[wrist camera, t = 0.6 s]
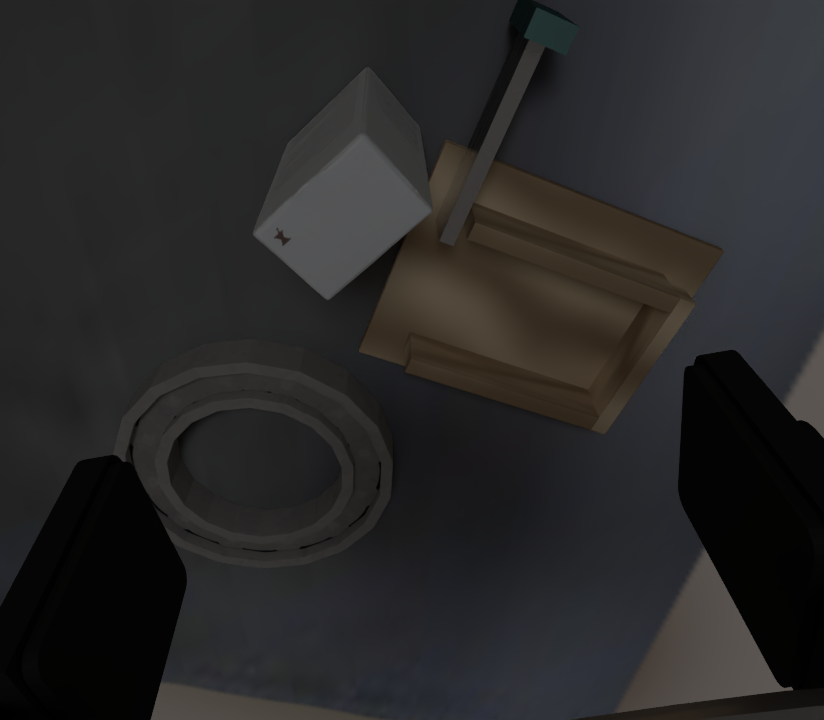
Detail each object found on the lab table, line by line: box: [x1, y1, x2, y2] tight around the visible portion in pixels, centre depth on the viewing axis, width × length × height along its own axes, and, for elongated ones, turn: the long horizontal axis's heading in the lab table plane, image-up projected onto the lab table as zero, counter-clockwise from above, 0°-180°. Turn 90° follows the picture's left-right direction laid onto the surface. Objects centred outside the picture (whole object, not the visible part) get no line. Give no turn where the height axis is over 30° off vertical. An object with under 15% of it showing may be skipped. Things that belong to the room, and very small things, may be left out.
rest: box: [358, 139, 724, 434], centre depth 41 cm, size 14×18×4 cm
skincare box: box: [253, 67, 433, 300], centre depth 32 cm, size 6×4×12 cm
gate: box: [436, 0, 579, 246], centre depth 34 cm, size 12×2×4 cm, turn 158°
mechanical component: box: [113, 338, 393, 568], centre depth 48 cm, size 18×18×3 cm
